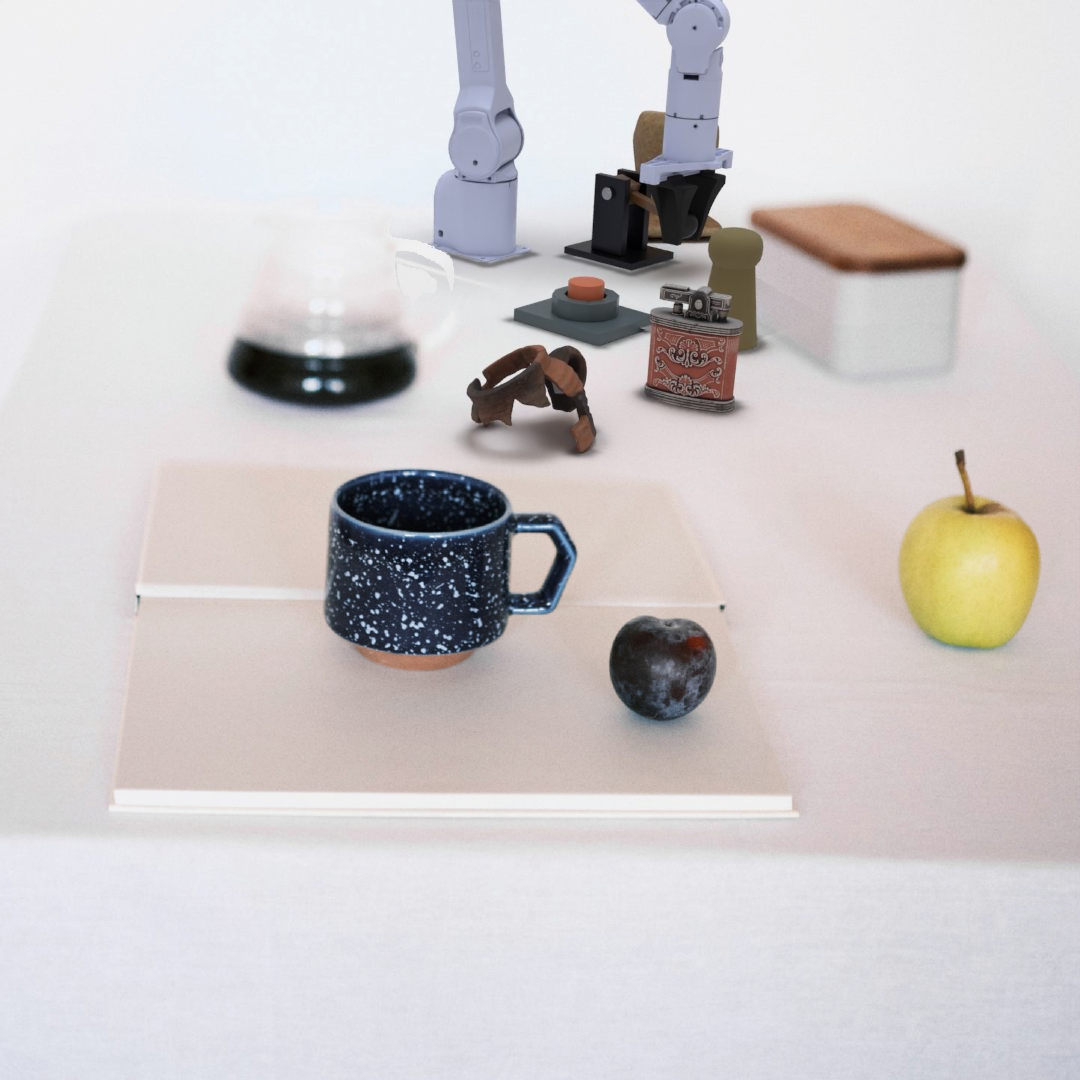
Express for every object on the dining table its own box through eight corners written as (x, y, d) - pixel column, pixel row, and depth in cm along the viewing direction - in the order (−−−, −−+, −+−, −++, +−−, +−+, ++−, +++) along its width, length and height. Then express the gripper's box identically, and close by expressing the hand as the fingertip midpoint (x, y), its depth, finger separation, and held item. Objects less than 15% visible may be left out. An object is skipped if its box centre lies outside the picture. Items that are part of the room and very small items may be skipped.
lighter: (738, 402, 119) (751, 290, 115) (726, 415, 116) (739, 300, 112) (652, 386, 122) (660, 275, 118) (638, 397, 119) (646, 284, 115)
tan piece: (706, 223, 178) (717, 103, 171) (728, 247, 167) (741, 120, 160) (590, 222, 176) (597, 100, 169) (605, 246, 165) (613, 117, 158)
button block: (513, 320, 138) (514, 290, 136) (571, 302, 144) (572, 274, 143) (598, 346, 131) (600, 316, 130) (655, 327, 138) (657, 297, 136)
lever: (698, 240, 154) (707, 214, 152) (682, 245, 152) (690, 218, 150) (619, 196, 159) (626, 170, 157) (601, 200, 157) (608, 173, 155)
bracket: (673, 262, 160) (680, 176, 156) (631, 274, 155) (637, 186, 150) (606, 245, 166) (611, 162, 161) (563, 256, 160) (567, 171, 156)
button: (560, 297, 136) (560, 280, 135) (583, 291, 139) (584, 274, 138) (588, 306, 134) (589, 288, 133) (611, 298, 137) (612, 281, 136)
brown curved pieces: (579, 474, 105) (527, 385, 102) (486, 495, 111) (434, 412, 108) (636, 390, 113) (590, 305, 110) (547, 414, 119) (500, 334, 116)
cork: (737, 356, 130) (749, 240, 126) (683, 341, 134) (693, 229, 129) (768, 341, 135) (781, 229, 130) (715, 328, 138) (726, 218, 133)
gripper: (682, 127, 140) (671, 259, 146) (760, 113, 150) (747, 237, 156) (627, 118, 144) (619, 246, 150) (707, 104, 154) (696, 225, 160)
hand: (681, 241), depth 153 cm, fingers closed on lever, 3 cm apart
